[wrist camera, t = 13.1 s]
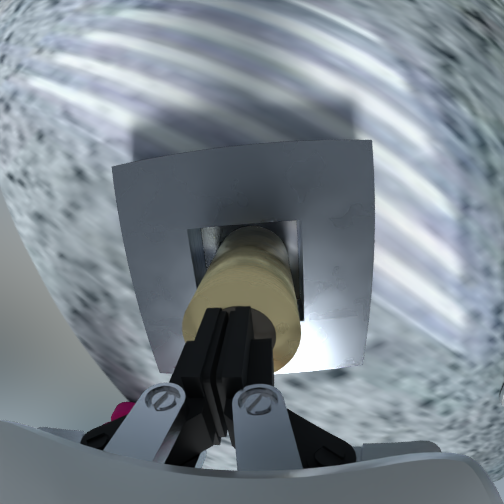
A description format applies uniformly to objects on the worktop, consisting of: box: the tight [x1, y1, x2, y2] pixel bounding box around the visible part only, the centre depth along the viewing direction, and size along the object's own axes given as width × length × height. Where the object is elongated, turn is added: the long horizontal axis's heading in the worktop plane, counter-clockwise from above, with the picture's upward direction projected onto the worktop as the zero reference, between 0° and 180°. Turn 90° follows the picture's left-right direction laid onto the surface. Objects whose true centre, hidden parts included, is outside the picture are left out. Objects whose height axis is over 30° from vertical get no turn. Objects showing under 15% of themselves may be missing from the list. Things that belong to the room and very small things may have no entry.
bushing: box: [182, 226, 301, 373], centre depth 15 cm, size 5×5×9 cm
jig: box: [112, 140, 375, 374], centre depth 18 cm, size 15×15×3 cm
